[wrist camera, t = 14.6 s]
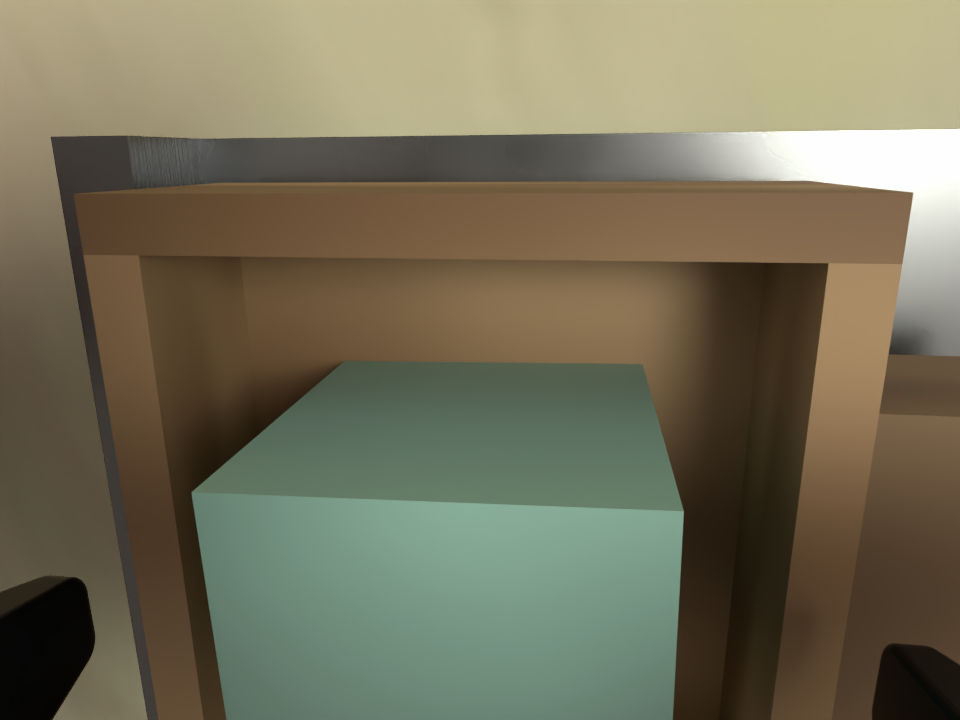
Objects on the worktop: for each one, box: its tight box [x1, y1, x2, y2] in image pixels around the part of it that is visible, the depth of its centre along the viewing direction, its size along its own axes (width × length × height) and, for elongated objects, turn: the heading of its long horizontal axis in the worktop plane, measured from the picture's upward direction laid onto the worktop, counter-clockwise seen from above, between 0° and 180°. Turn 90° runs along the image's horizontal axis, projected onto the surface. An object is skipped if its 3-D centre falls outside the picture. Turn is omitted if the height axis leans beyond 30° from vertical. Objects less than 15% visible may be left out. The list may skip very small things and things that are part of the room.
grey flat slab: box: [51, 129, 960, 720], centre depth 12 cm, size 11×20×3 cm, turn 90°
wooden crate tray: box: [74, 181, 960, 720], centre depth 11 cm, size 10×12×4 cm
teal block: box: [191, 361, 684, 720], centre depth 9 cm, size 4×4×4 cm
